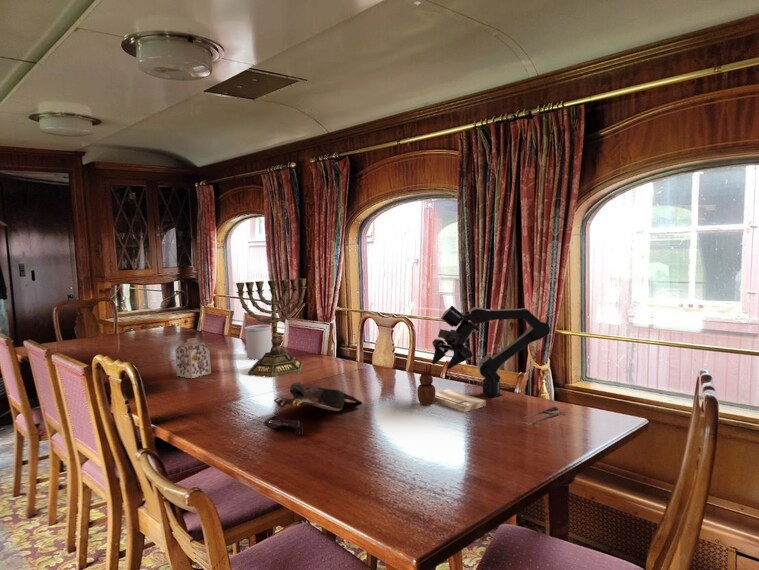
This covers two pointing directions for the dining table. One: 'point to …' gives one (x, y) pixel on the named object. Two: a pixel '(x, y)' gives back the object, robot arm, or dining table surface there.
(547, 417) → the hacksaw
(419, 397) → the wooden figurine
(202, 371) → the decorative jar
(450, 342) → the robot arm
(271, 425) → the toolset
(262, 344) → the utensil holder
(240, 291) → the menorah
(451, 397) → the maple board
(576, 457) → the dining table surface
